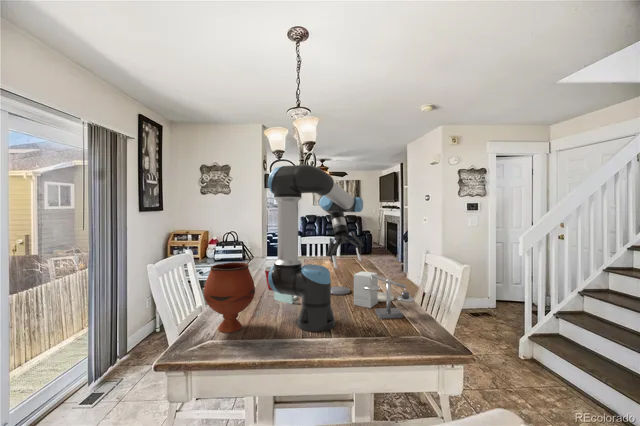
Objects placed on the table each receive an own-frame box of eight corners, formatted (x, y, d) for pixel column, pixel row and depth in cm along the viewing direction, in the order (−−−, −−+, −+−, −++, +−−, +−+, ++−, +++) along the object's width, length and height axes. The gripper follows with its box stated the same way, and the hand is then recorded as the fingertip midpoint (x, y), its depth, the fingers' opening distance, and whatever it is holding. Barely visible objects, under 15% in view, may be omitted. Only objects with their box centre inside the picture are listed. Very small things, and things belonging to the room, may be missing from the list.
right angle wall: (291, 305, 150) (291, 289, 149) (274, 300, 157) (274, 286, 157) (307, 299, 159) (307, 284, 159) (290, 295, 166) (290, 281, 166)
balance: (365, 319, 129) (365, 276, 128) (361, 313, 136) (361, 272, 135) (416, 317, 131) (416, 274, 130) (409, 311, 138) (409, 271, 137)
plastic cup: (281, 291, 171) (281, 270, 171) (262, 291, 171) (262, 270, 171) (284, 286, 182) (284, 266, 182) (266, 286, 182) (265, 266, 182)
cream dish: (372, 302, 150) (372, 300, 150) (365, 295, 163) (365, 292, 163) (397, 301, 152) (397, 299, 152) (389, 294, 165) (389, 291, 164)
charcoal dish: (328, 295, 162) (328, 293, 162) (325, 289, 175) (325, 286, 175) (352, 294, 164) (352, 292, 164) (347, 288, 176) (347, 286, 176)
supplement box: (378, 303, 150) (378, 272, 149) (370, 308, 142) (370, 276, 142) (361, 300, 155) (361, 270, 154) (353, 305, 147) (353, 274, 147)
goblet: (260, 319, 130) (259, 260, 129) (248, 338, 111) (247, 270, 110) (215, 318, 131) (214, 260, 130) (196, 338, 111) (194, 270, 111)
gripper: (363, 221, 165) (372, 258, 156) (322, 236, 174) (329, 272, 164) (358, 217, 159) (368, 255, 150) (316, 232, 168) (323, 269, 158)
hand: (347, 264), depth 157 cm, fingers open, 13 cm apart
